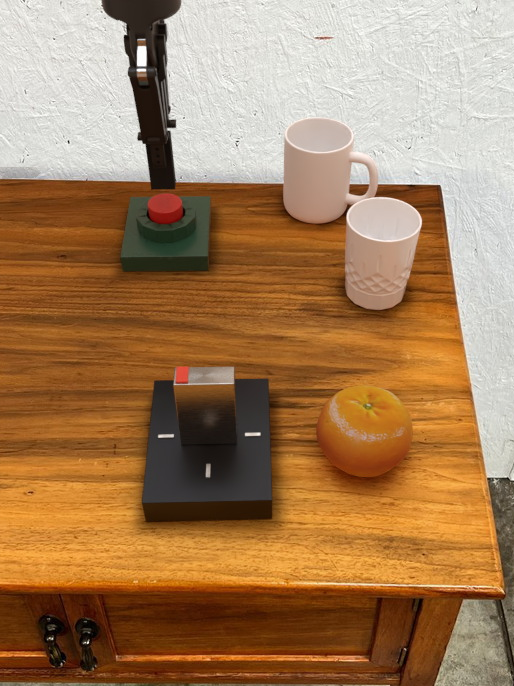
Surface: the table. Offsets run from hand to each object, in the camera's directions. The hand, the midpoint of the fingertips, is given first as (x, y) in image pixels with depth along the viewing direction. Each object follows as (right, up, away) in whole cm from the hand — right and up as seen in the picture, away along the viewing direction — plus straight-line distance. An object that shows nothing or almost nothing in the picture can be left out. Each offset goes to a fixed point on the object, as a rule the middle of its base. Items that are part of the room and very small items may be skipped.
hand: (163, 185), depth 89 cm
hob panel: (+7, -29, -17) cm, 34 cm away
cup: (+20, -1, +11) cm, 22 cm away
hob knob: (+7, -27, -19) cm, 34 cm away
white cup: (+24, -12, 0) cm, 27 cm away
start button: (0, -3, +3) cm, 4 cm away
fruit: (+21, -29, -16) cm, 39 cm away
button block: (0, -5, +6) cm, 8 cm away
